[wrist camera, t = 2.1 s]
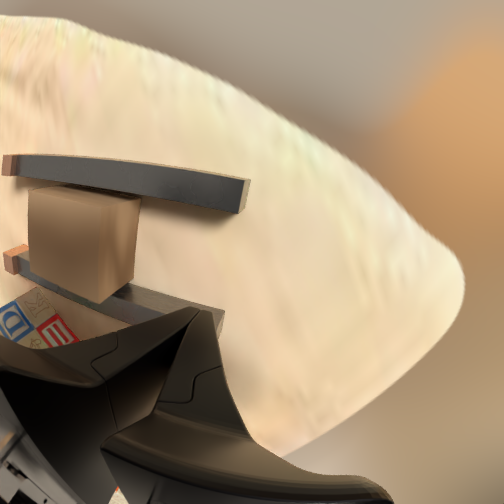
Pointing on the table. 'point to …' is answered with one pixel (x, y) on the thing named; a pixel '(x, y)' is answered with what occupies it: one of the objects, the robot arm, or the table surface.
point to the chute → (133, 181)
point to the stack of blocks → (39, 332)
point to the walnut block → (83, 238)
